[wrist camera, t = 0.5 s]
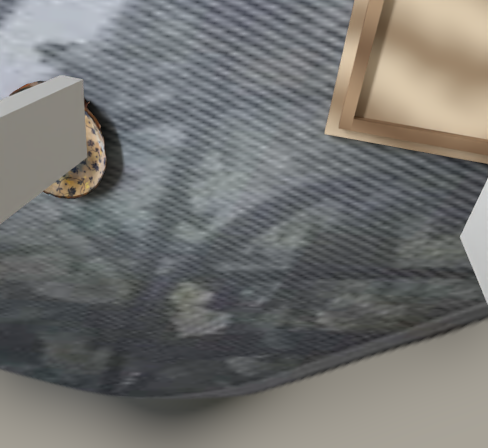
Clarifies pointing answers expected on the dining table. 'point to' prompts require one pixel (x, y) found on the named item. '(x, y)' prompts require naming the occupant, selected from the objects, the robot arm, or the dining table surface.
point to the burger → (90, 168)
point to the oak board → (415, 77)
